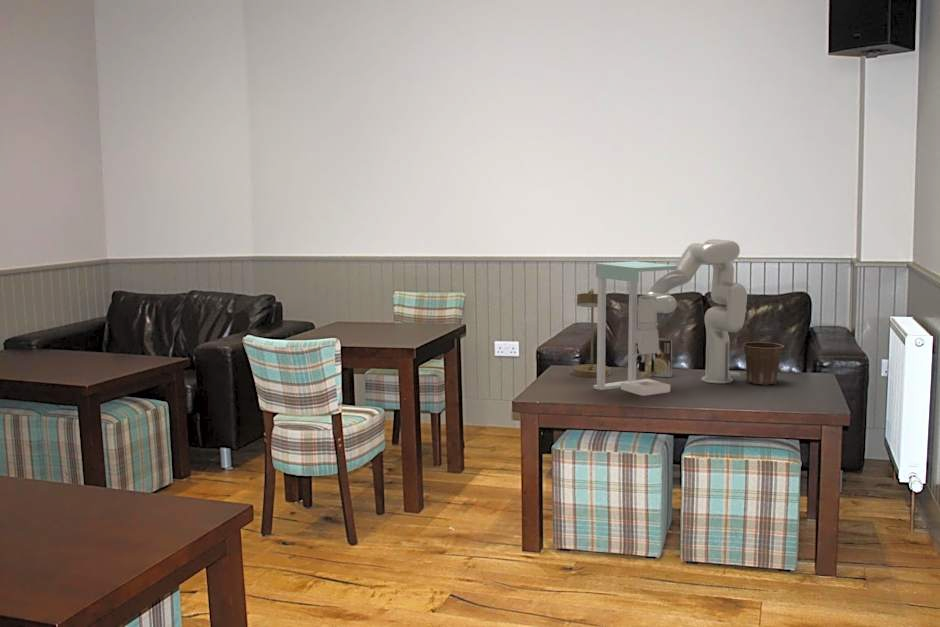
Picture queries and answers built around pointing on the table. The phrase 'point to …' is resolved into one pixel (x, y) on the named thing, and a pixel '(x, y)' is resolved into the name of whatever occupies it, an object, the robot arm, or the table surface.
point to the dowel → (647, 366)
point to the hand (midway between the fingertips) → (646, 370)
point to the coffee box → (663, 359)
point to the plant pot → (762, 362)
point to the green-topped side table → (631, 274)
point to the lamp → (591, 369)
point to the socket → (645, 387)
